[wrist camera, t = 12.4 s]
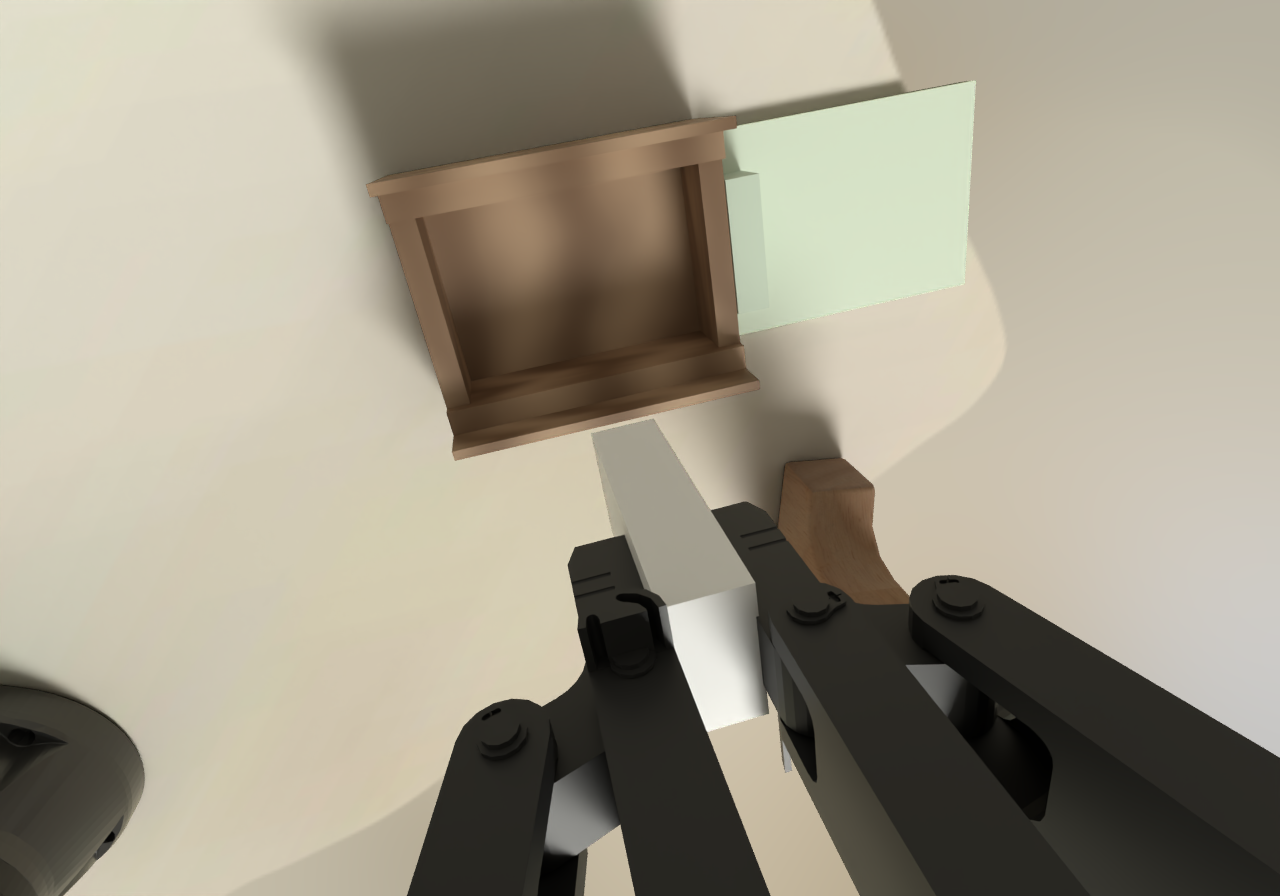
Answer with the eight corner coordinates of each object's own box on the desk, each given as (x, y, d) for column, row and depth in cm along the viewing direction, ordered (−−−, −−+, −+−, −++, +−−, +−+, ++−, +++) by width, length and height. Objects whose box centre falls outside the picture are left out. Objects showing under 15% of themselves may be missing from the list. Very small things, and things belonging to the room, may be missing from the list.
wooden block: (783, 460, 46) (942, 634, 30) (844, 455, 47) (1030, 622, 31) (770, 570, 50) (905, 778, 34) (827, 564, 51) (985, 763, 35)
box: (459, 409, 40) (454, 460, 34) (387, 175, 34) (365, 184, 28) (718, 350, 42) (759, 389, 35) (692, 118, 36) (735, 115, 30)
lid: (715, 334, 42) (737, 353, 38) (692, 133, 37) (714, 133, 33) (952, 280, 44) (994, 294, 40) (962, 81, 38) (1010, 77, 35)
